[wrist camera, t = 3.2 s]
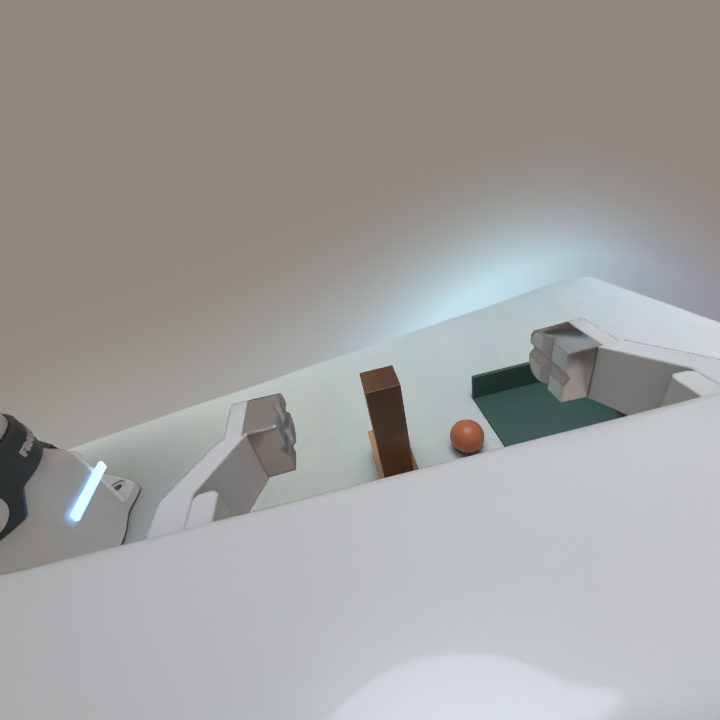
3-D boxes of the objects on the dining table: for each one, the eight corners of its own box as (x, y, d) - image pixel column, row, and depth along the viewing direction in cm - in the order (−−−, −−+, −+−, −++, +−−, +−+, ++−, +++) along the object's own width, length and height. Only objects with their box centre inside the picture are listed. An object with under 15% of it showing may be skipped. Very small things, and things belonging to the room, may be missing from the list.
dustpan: (578, 556, 26) (585, 532, 24) (472, 397, 42) (471, 375, 40) (850, 484, 27) (876, 456, 25) (644, 354, 42) (651, 331, 41)
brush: (394, 542, 29) (367, 431, 22) (372, 452, 38) (347, 350, 31) (436, 531, 29) (421, 417, 22) (405, 443, 38) (387, 340, 31)
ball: (446, 454, 36) (444, 431, 34) (457, 431, 38) (455, 409, 36) (478, 463, 34) (478, 440, 32) (487, 440, 36) (488, 417, 34)
